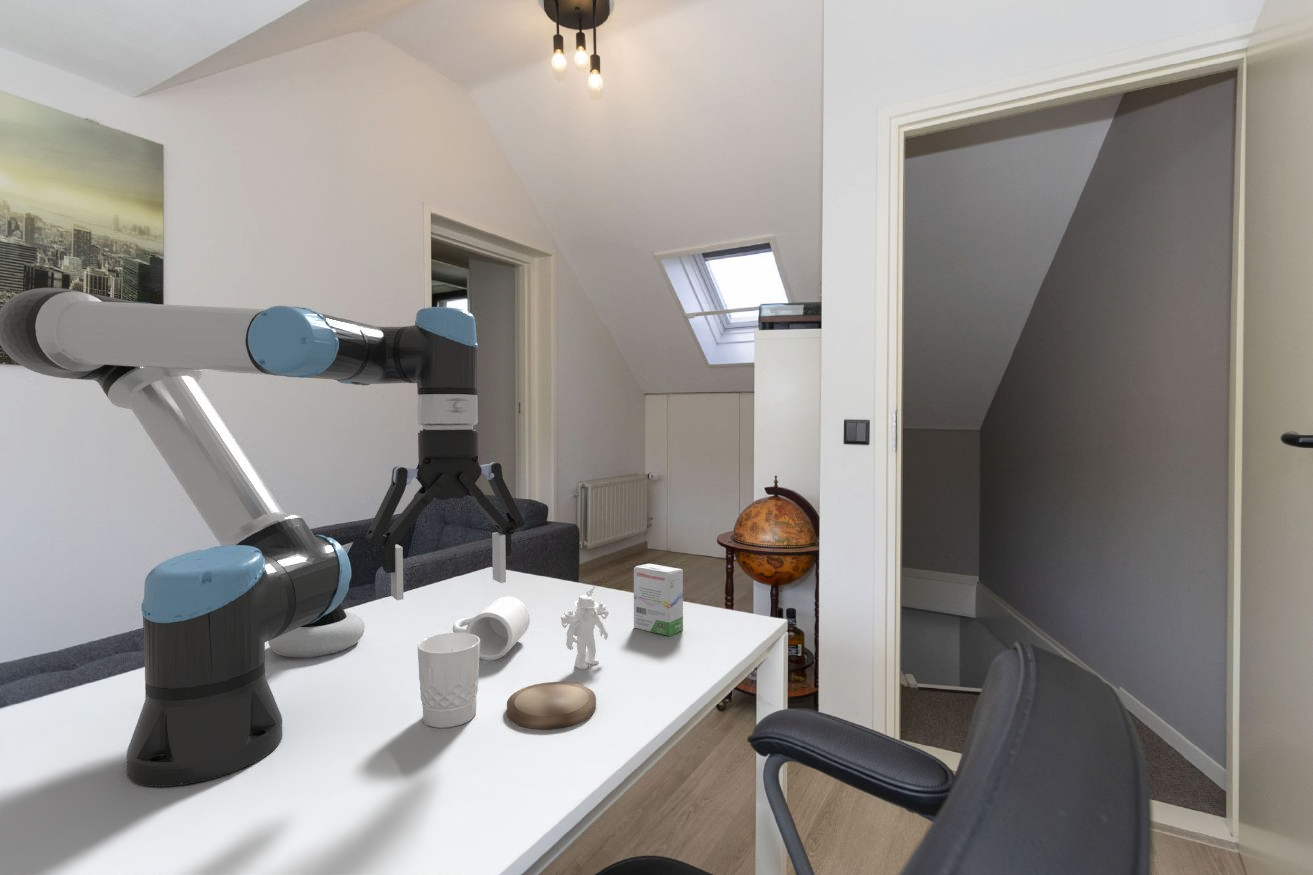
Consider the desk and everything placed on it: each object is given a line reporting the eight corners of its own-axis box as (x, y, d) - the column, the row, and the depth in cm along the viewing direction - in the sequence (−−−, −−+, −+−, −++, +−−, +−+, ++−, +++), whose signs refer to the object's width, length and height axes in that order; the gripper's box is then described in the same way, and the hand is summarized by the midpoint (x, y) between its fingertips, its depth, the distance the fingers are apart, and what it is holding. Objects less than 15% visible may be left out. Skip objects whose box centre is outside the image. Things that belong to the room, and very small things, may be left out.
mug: (530, 641, 116) (530, 596, 115) (512, 661, 106) (512, 613, 105) (465, 638, 117) (465, 594, 117) (441, 659, 107) (441, 611, 107)
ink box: (684, 630, 122) (684, 567, 121) (668, 637, 118) (669, 572, 117) (648, 621, 127) (648, 561, 126) (632, 628, 123) (632, 566, 122)
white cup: (491, 716, 86) (491, 641, 86) (436, 737, 80) (436, 657, 80) (460, 698, 92) (460, 628, 91) (407, 717, 86) (406, 642, 86)
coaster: (531, 738, 80) (531, 728, 80) (492, 704, 90) (492, 695, 90) (612, 712, 87) (612, 703, 87) (568, 683, 97) (568, 674, 97)
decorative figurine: (370, 629, 122) (369, 523, 121) (357, 657, 107) (356, 537, 107) (282, 636, 117) (280, 526, 117) (256, 666, 103) (254, 541, 103)
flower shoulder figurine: (598, 653, 109) (598, 583, 109) (614, 659, 106) (614, 587, 106) (556, 668, 103) (556, 593, 102) (572, 675, 100) (572, 598, 100)
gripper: (352, 429, 74) (355, 612, 75) (547, 427, 89) (548, 579, 90) (338, 429, 80) (341, 598, 81) (523, 426, 95) (524, 569, 96)
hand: (450, 589), depth 86 cm, fingers open, 13 cm apart
